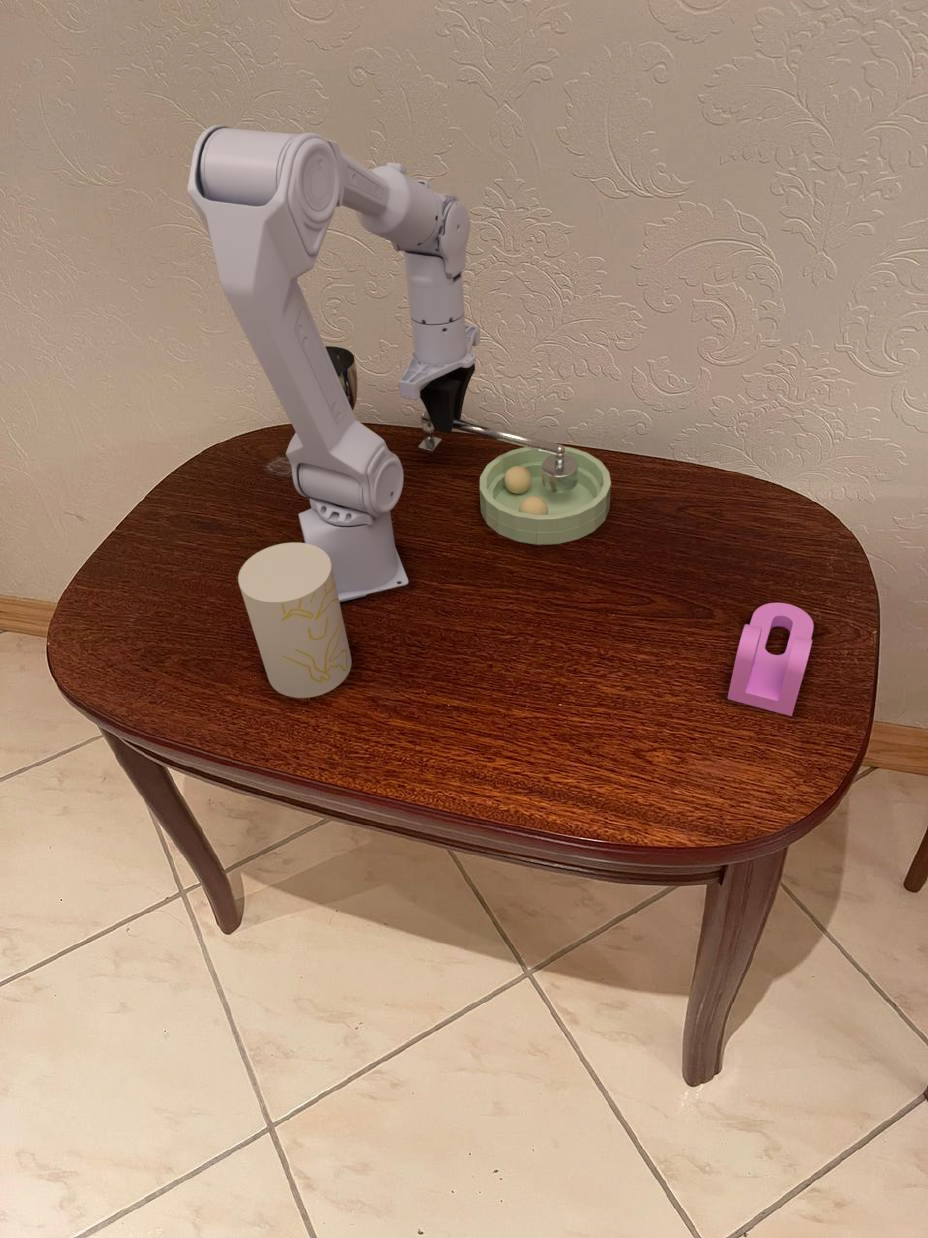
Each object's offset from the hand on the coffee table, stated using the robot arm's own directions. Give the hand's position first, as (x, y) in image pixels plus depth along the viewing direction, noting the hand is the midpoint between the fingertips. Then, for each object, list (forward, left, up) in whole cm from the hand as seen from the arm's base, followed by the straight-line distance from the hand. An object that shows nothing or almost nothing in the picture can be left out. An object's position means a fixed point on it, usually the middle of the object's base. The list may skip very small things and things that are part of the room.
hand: (446, 426), depth 103 cm
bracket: (+20, -40, -7) cm, 45 cm away
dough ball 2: (+6, -13, -7) cm, 16 cm away
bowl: (+8, -10, -7) cm, 15 cm away
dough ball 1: (+7, -6, -7) cm, 11 cm away
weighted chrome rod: (+4, -3, -4) cm, 6 cm away
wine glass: (-13, +6, -7) cm, 16 cm away
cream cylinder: (-22, -26, -7) cm, 34 cm away
